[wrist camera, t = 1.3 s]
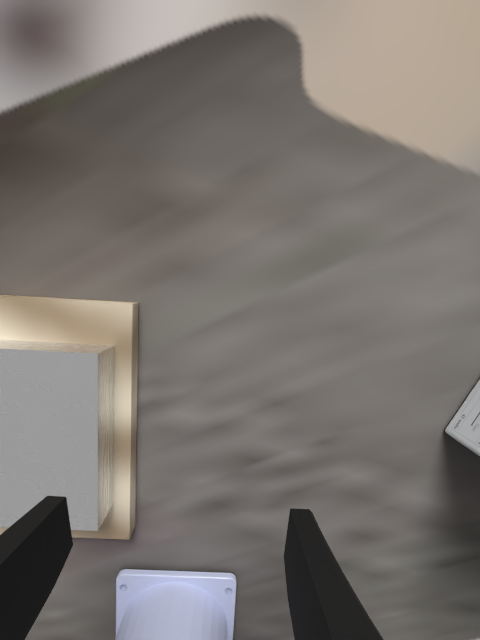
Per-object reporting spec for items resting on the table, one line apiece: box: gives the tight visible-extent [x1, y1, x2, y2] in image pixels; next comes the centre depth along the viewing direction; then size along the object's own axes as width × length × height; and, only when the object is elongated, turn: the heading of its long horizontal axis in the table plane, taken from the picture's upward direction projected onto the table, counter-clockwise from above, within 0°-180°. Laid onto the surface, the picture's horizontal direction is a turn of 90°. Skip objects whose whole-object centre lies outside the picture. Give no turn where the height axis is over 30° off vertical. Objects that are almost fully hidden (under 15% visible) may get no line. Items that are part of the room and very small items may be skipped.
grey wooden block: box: [0, 339, 115, 531], centre depth 16 cm, size 10×7×2 cm
